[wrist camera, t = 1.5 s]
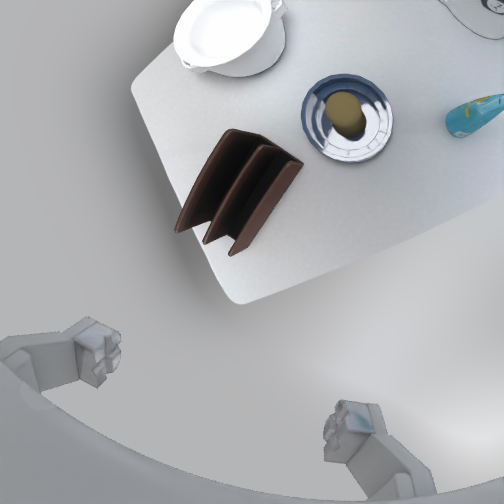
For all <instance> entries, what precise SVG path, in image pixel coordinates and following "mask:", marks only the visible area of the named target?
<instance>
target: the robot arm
mask: <svg viewBox="0 0 504 504" xmlns="http://www.w3.org/2000/svg"><path fill="white" fill-rule="evenodd" d="M440 1H441V2H442V3H444V4H445V5H446V6H447V7H448V8H449V9H450V11H451V12H452V13H453V15H454V16H455V17H456V18H457V19H458V20H459V21H460V22H461V23H462V24H464V25H465V26H466V27H467V28H469V29H470V30H472V31H473V32H475V33H477V34H479V35H481V36H483V37H486V38H489V39H501V38H503V37H504V0H440ZM120 342H121V334H120V333H119V332H118V331H116V330H114V329H112V328H110V327H108V326H106V325H104V324H102V323H100V322H98V321H96V320H94V319H92V318H90V317H85V318H83V319H82V320H80V321H79V322H77V323H76V324H74V325H73V326H71V327H70V328H68V329H67V330H65V331H64V332H62V333H60V332H59V331H58V332H49V333H40V334H29V335H17V336H8V337H6V338H5V339H3V340H2V341H0V504H504V477H501V478H497V479H494V480H491V481H488V482H485V483H482V484H478V485H474V486H471V487H467V488H463V489H459V490H454V491H450V492H445V493H440V494H437V491H436V488H435V484H434V481H433V477H432V474H431V471H430V470H429V469H428V468H427V467H426V466H425V465H424V464H423V463H421V462H420V461H419V460H418V459H417V458H416V457H415V456H414V455H413V454H412V453H410V452H409V451H408V450H407V449H406V448H405V447H404V446H403V445H402V444H401V443H399V442H398V441H397V440H396V439H395V438H394V437H393V436H392V435H388V433H387V429H386V426H385V422H384V419H383V416H382V412H381V409H380V406H379V405H378V404H370V403H359V402H352V401H346V400H340V401H338V403H337V404H336V406H335V413H333V414H331V415H330V416H329V418H328V419H327V421H326V424H325V427H324V432H323V437H324V438H323V439H324V440H325V441H326V442H327V444H326V445H325V447H324V461H326V462H334V463H343V464H346V466H347V467H348V469H349V470H350V472H351V473H352V475H353V476H354V478H355V479H356V480H357V482H358V484H359V485H360V486H361V488H362V489H363V491H364V492H365V494H366V495H367V497H368V499H367V500H366V501H333V500H317V499H306V498H297V497H289V496H282V495H275V494H269V493H264V492H258V491H253V490H249V489H244V488H240V487H236V486H232V485H228V484H223V483H220V482H216V481H213V480H209V479H206V478H203V477H200V476H197V475H193V474H191V473H187V472H185V471H182V470H179V469H177V468H174V467H171V466H169V465H166V464H163V463H161V462H159V461H156V460H154V459H151V458H149V457H146V456H145V455H142V454H140V453H138V452H136V451H133V450H132V449H129V448H127V447H125V446H123V445H121V444H119V443H117V442H115V441H114V440H112V439H110V438H108V437H106V436H104V435H102V434H100V433H99V432H97V431H95V430H94V429H92V428H90V427H88V426H87V425H85V424H83V423H82V422H80V421H79V420H77V419H75V418H74V417H72V416H71V415H69V414H68V413H66V412H65V411H63V410H62V409H60V408H59V407H57V406H56V405H54V404H53V403H52V402H50V401H49V400H48V399H46V398H45V397H43V396H42V395H41V392H42V391H45V390H48V389H52V388H55V387H58V386H61V385H64V384H68V383H71V382H74V381H77V380H79V379H81V380H82V381H84V382H86V383H88V384H90V385H92V386H93V387H95V388H98V387H99V386H100V385H101V384H102V383H103V382H104V381H105V380H106V379H107V377H106V374H108V373H112V372H114V370H115V369H116V368H117V366H118V364H119V362H120V358H121V350H120V348H119V346H118V344H119V343H120Z"/></svg>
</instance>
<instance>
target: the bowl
mask: <svg viewBox="0 0 504 504" xmlns="http://www.w3.org/2000/svg"><path fill="white" fill-rule="evenodd" d="M337 92H347V93H350V94H352V95H354V96H355V97H356V98H357V99H358V100H359V102H360V104H361V106H362V111H363V113H364V115H365V117H366V122H367V123H366V128H365V130H364V132H363V133H362V134H361V135H359V136H357V137H355V138H346V137H343V136H341V135H339V134H338V133H337V132H336V131H335V130H334V128H333V126H332V122H331V121H330V120H329V119H328V117H327V115H326V113H325V105H326V102H327V100H328V98H329V97H330V96H331V95H332V94H335V93H337ZM301 120H302V126H303V130H304V132H305V133H306V135H307V137H308V139H309V141H310V142H311V143H312V144H313V145H314V146H315V147H316V148H317V150H318V151H320V152H321V153H323V154H325V155H327V156H328V157H330V158H332V159H335V160H338V161H343V162H347V163H353V162H363V161H365V160H368V159H370V158H372V157H374V156H375V155H377V154H378V153H379V152H380V151H381V150H382V149H383V148H384V146H385V144H386V143H387V141H388V139H389V137H390V135H391V132H392V125H393V116H392V110H391V106H390V104H389V102H388V100H387V98H386V97H385V95H384V93H383V92H382V91H381V90H380V89H379V88H378V87H377V86H376V85H375V84H374V83H372V82H371V81H369V80H367V79H365V78H363V77H361V76H357V75H351V74H337V75H331V76H328V77H326V78H324V79H322V80H320V81H318V82H317V83H316V84H315V85H314V86H313V87H312V88H311V89H310V90H309V91H308V93H307V95H306V97H305V99H304V101H303V104H302V111H301Z"/></svg>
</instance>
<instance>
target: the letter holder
mask: <svg viewBox="0 0 504 504" xmlns="http://www.w3.org/2000/svg"><path fill="white" fill-rule="evenodd" d="M302 166H303V163H302V162H301V161H299V160H298V159H297V158H295V157H293V156H292V155H291V154H289V153H288V152H286V151H285V150H283V149H282V148H280V147H279V146H277V145H276V144H274V143H273V142H271V141H270V140H268V139H266V138H265V137H263V136H261V135H260V134H255V133H250V132H246V131H241V130H237V129H228V130H227V131H226V132H225V133H224V134H223V136H222V137H221V139H220V140H219V142H218V143H217V145H216V146H215V148H214V150H213V151H212V153H211V154H210V156H209V158H208V159H207V161H206V163H205V165H204V166H203V168H202V170H201V172H200V174H199V175H198V177H197V179H196V181H195V183H194V185H193V187H192V189H191V191H190V193H189V195H188V198H187V200H186V202H185V204H184V206H183V209H182V211H181V213H180V215H179V218H178V221H177V223H176V226H175V229H174V230H175V233H180V232H182V231H185V230H187V229H190V228H192V227H195V226H197V225H200V224H202V223H205V222H208V221H211V224H210V226H209V228H208V230H207V232H206V234H205V236H204V238H203V240H202V242H203V244H204V245H206V244H208V243H210V242H212V241H214V240H216V239H218V238H220V237H223V236H225V235H228V236H230V237H231V238H232V239H234V240H235V242H234V244H233V246H232V247H231V249H230V251H229V252H228V255H229V256H230V257H231V256H233V255H235V254H237V253H239V252H241V251H243V250H244V249H246V248H248V246H249V245H250V243H251V242H252V240H253V239H254V237H255V236H256V234H257V233H258V231H259V230H260V228H261V227H262V225H263V224H264V222H265V221H266V219H267V218H268V216H269V215H270V213H271V212H272V210H273V209H274V207H275V206H276V204H277V203H278V202H279V200H280V198H281V197H282V195H283V194H284V193H285V191H286V190H287V188H288V187H289V185H290V184H291V182H292V181H293V179H294V178H295V176H296V175H297V173H298V172H299V170H300V169H301V167H302Z"/></svg>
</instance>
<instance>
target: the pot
mask: <svg viewBox="0 0 504 504" xmlns="http://www.w3.org/2000/svg"><path fill="white" fill-rule="evenodd" d="M274 1H280V3H279V4H278V6H277V7H276V8H275V9H274V8H272V2H274ZM286 10H287V6H286V3H285V2H284V1H283V0H194V1H193V2H192V4H191V5H190V6H189V7H188V8H187V9H186V10H185V12H184V13H183V14H182V16H181V18H180V20H179V22H178V24H177V26H176V29H175V33H174V46H175V50H176V52H177V54H178V55H179V57H180V58H181V63H182V64H183V66H184V67H186V68H187V69H189V70H191V71H193V72H196V73H204V72H205V71H207V70H210V71H213V72H216V73H219V74H222V75H225V76H231V77H244V76H250V75H254V74H256V73H259V72H262V71H263V70H265V69H267V68H269V67H270V66H272V65H273V64H274V63H275V62H276V61H277V59H278V58H279V57H280V55H281V53H282V51H283V49H284V47H285V32H284V25H283V22H282V19H281V17H282V16H283V14H284V13H285V11H286ZM190 64H191V65H192V66H190Z"/></svg>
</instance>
